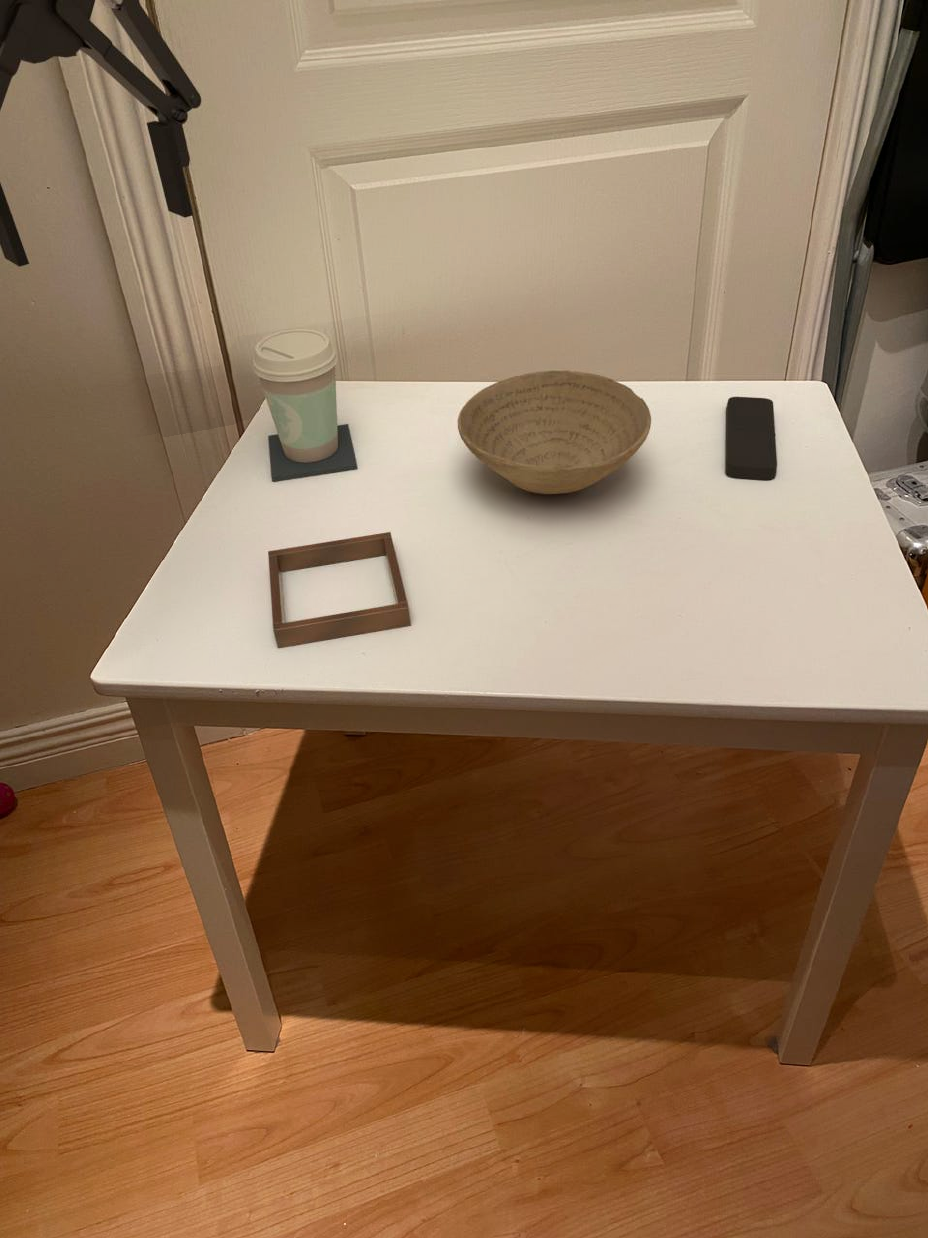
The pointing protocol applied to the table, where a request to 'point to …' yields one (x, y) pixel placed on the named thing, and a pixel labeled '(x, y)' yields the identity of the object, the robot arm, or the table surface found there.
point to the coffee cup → (300, 391)
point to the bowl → (554, 429)
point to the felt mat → (291, 469)
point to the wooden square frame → (344, 621)
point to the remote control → (750, 438)
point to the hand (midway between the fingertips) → (102, 236)
